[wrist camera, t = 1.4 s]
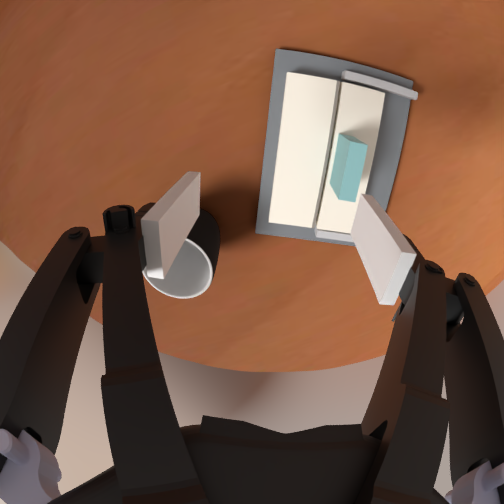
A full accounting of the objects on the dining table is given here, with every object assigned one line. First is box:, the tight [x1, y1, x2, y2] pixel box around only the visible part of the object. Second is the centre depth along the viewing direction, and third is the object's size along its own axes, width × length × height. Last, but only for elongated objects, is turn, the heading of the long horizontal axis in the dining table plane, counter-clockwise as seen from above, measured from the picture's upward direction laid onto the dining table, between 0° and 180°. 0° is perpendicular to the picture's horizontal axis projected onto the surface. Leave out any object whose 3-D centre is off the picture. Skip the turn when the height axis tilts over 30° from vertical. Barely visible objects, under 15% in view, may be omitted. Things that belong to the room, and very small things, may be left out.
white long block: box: [315, 82, 385, 233], centre depth 28 cm, size 18×5×7 cm, turn 175°
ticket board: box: [255, 49, 418, 246], centre depth 31 cm, size 24×17×4 cm
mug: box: [143, 209, 220, 298], centre depth 36 cm, size 12×9×10 cm
